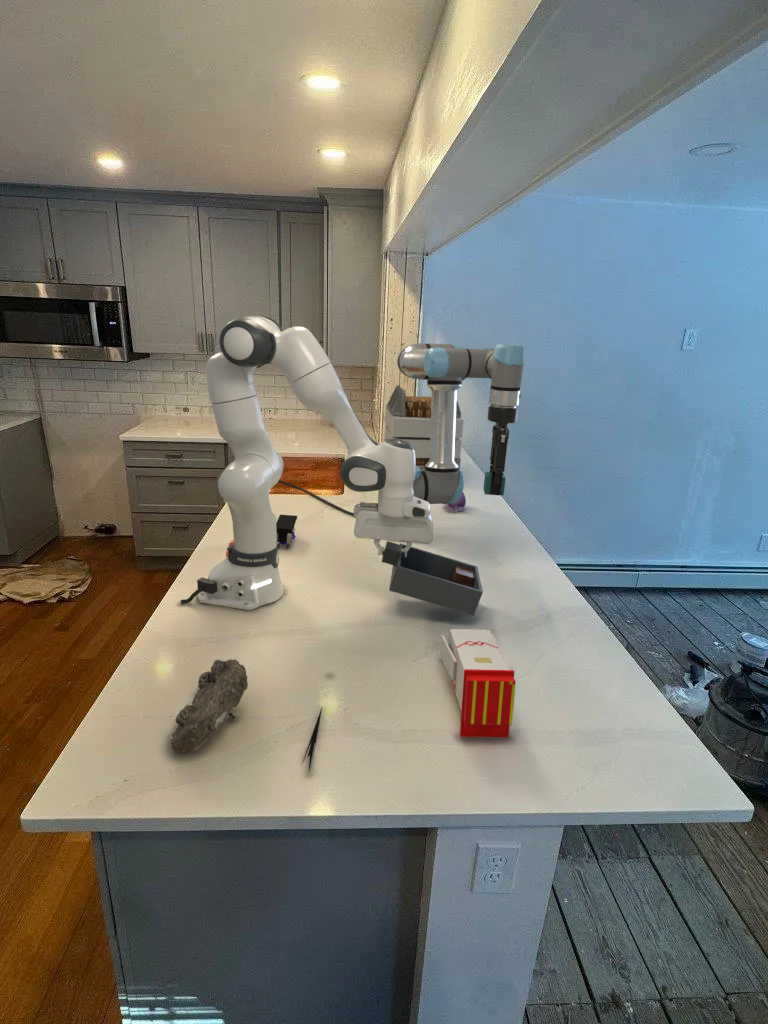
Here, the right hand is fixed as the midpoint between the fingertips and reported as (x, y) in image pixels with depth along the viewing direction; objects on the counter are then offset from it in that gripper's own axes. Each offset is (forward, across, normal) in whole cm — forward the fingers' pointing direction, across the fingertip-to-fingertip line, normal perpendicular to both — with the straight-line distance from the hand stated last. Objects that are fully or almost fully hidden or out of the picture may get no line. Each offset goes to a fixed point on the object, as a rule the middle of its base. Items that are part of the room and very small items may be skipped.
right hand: (493, 491), depth 155 cm
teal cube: (0, 0, 0) cm, 0 cm away
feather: (+29, -62, +36) cm, 77 cm away
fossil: (+29, -64, +56) cm, 90 cm away
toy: (+29, -49, +7) cm, 58 cm away
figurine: (+29, +67, +6) cm, 73 cm away
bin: (+22, -16, +17) cm, 33 cm away
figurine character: (+29, +21, +64) cm, 73 cm away
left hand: (+14, -16, +26) cm, 34 cm away
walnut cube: (+24, -12, +8) cm, 28 cm away
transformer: (+28, +116, +22) cm, 121 cm away
